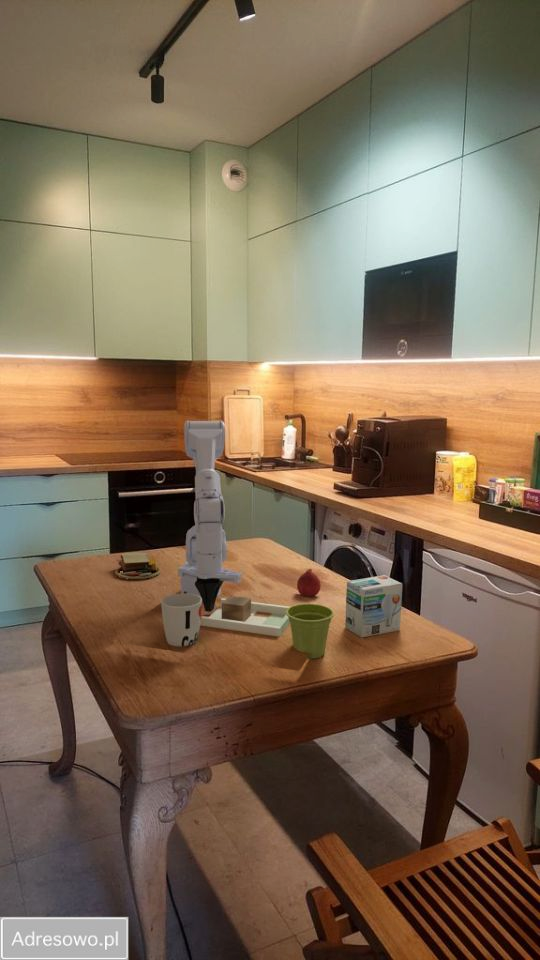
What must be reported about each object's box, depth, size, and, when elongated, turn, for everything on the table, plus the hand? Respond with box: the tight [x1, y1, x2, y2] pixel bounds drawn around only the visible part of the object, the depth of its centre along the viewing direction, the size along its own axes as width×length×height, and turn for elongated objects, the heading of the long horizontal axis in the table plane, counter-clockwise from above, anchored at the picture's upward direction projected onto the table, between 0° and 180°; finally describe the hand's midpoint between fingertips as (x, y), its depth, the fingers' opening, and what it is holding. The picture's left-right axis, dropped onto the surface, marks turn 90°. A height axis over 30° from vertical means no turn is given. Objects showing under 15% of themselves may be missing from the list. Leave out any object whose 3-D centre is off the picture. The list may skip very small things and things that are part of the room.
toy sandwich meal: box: [114, 551, 162, 580], centre depth 178 cm, size 12×14×5 cm
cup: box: [160, 592, 203, 653], centre depth 129 cm, size 8×8×10 cm
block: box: [222, 595, 252, 622], centre depth 142 cm, size 5×5×4 cm
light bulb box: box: [344, 574, 403, 638], centre depth 140 cm, size 11×7×11 cm, turn 118°
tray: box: [200, 597, 291, 637], centre depth 141 cm, size 18×13×3 cm
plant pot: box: [286, 603, 335, 660], centre depth 127 cm, size 9×9×9 cm
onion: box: [296, 567, 322, 598], centre depth 158 cm, size 6×6×8 cm
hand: (209, 610), depth 144 cm, fingers closed
